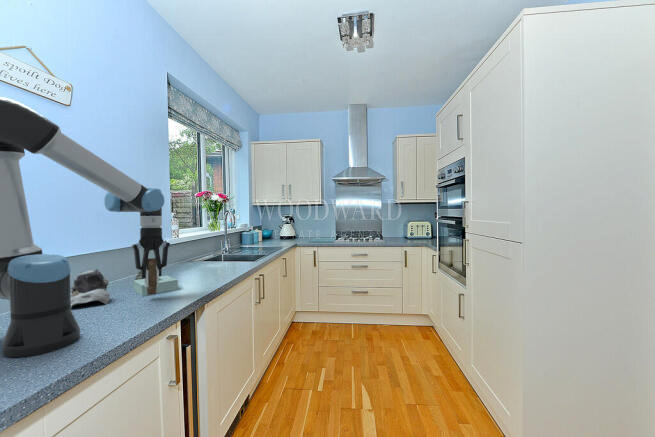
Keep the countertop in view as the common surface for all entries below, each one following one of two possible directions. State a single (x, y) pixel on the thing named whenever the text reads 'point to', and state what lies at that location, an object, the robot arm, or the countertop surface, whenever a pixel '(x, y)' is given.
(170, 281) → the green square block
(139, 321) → the countertop surface
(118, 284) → the countertop surface
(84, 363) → the countertop surface
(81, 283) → the stone
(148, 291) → the dowel
